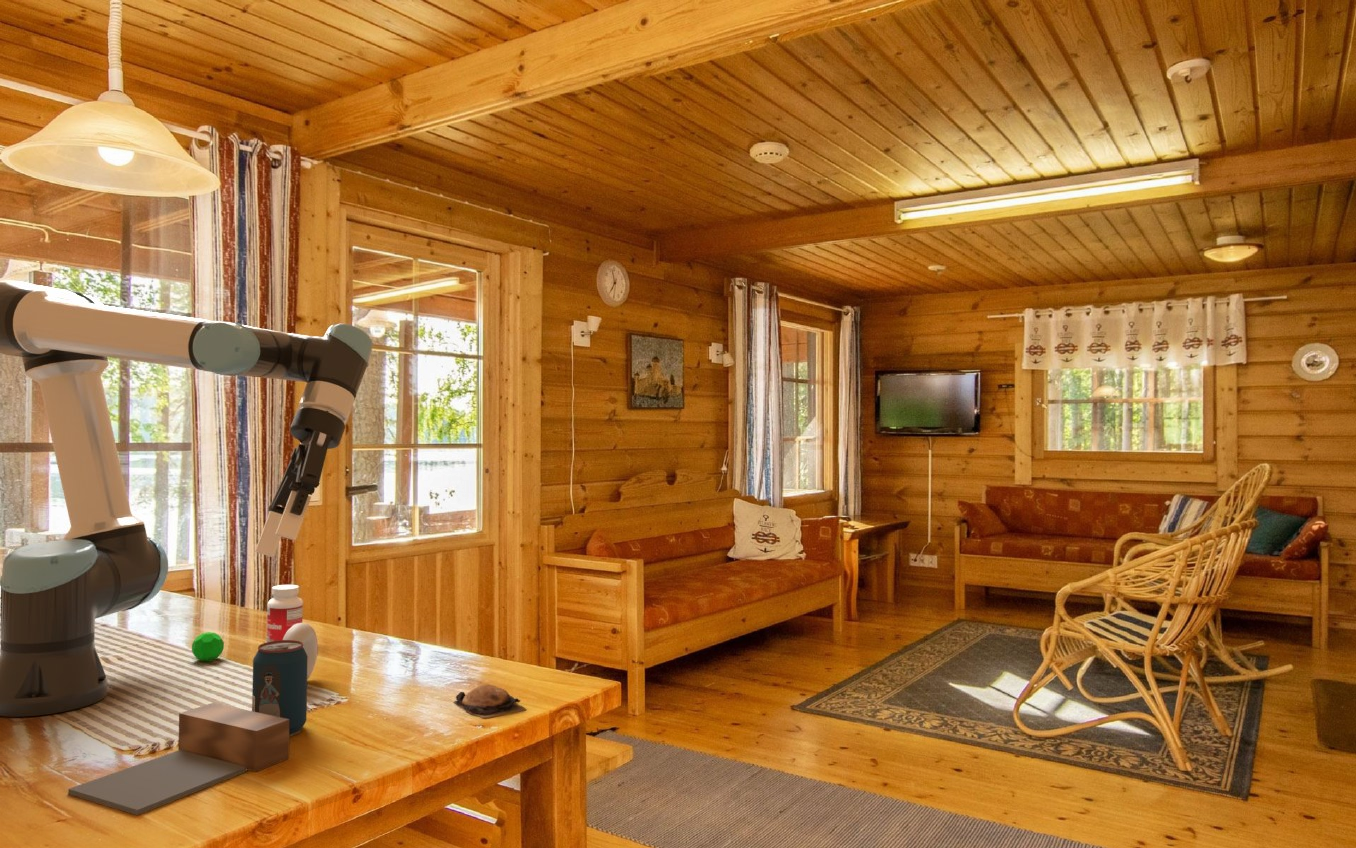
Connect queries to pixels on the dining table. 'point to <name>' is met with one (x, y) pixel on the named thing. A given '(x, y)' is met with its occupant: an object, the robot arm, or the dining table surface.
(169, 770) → the charcoal mat
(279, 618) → the pill bottle
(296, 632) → the donut
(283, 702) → the soda can
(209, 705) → the walnut block
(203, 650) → the polyhedron
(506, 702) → the brown domed piece
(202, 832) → the dining table surface
